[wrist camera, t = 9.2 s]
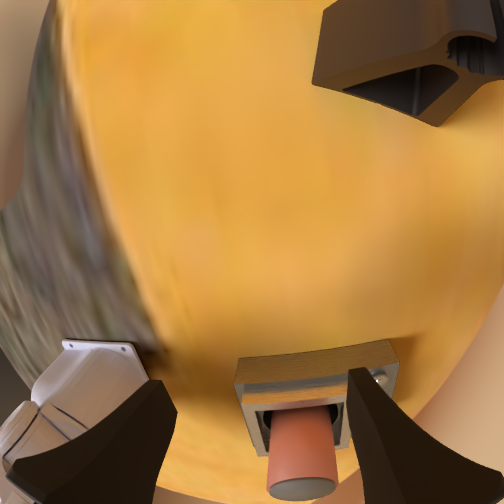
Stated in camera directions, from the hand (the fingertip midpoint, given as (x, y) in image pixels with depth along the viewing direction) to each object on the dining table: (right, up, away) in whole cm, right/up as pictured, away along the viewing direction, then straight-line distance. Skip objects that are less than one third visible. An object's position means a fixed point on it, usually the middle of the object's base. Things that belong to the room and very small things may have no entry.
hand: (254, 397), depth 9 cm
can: (+4, -7, +9) cm, 12 cm away
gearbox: (+5, -6, +12) cm, 15 cm away
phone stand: (+8, +18, +4) cm, 20 cm away
